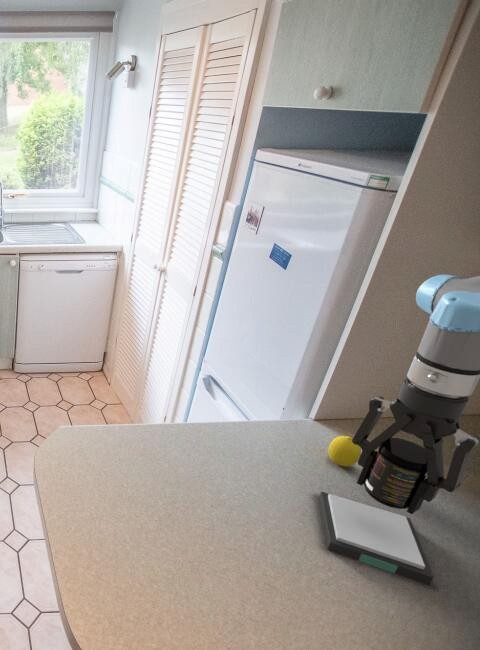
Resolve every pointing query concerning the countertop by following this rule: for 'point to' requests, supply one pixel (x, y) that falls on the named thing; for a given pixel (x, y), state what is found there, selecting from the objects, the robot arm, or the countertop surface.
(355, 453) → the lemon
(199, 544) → the countertop surface
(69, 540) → the countertop surface
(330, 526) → the kitchen scale
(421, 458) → the supplement container
